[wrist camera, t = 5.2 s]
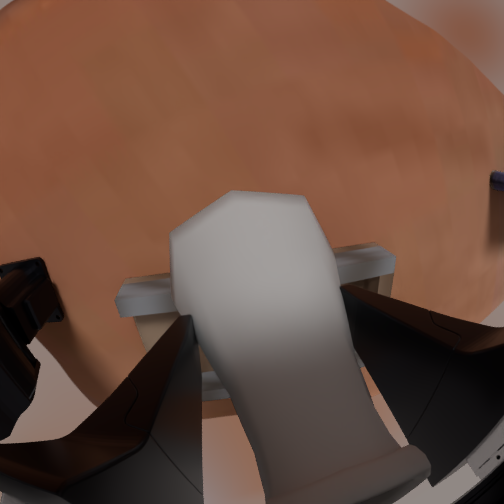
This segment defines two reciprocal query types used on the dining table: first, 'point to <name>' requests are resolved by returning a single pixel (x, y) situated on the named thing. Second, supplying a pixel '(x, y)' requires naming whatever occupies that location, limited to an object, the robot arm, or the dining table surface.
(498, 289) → the dining table surface
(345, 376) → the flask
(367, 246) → the grey rectangular tray
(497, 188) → the flask
